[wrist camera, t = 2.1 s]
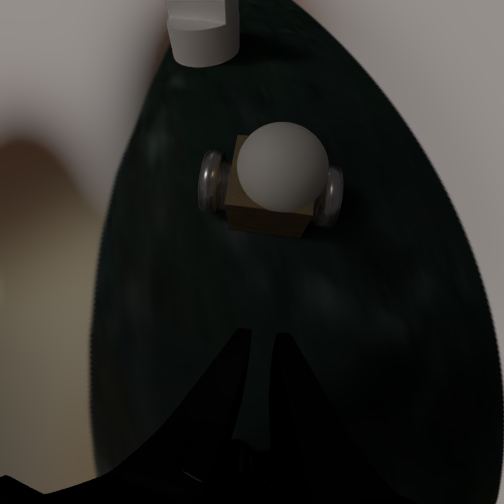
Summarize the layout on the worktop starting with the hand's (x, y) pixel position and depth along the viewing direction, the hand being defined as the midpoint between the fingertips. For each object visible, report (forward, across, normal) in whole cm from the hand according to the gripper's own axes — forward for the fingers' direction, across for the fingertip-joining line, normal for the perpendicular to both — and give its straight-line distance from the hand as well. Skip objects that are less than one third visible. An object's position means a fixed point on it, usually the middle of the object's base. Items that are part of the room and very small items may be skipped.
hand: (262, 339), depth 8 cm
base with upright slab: (+34, +10, -14) cm, 38 cm away
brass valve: (+17, 0, +2) cm, 17 cm away
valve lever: (+13, 0, -3) cm, 13 cm away
